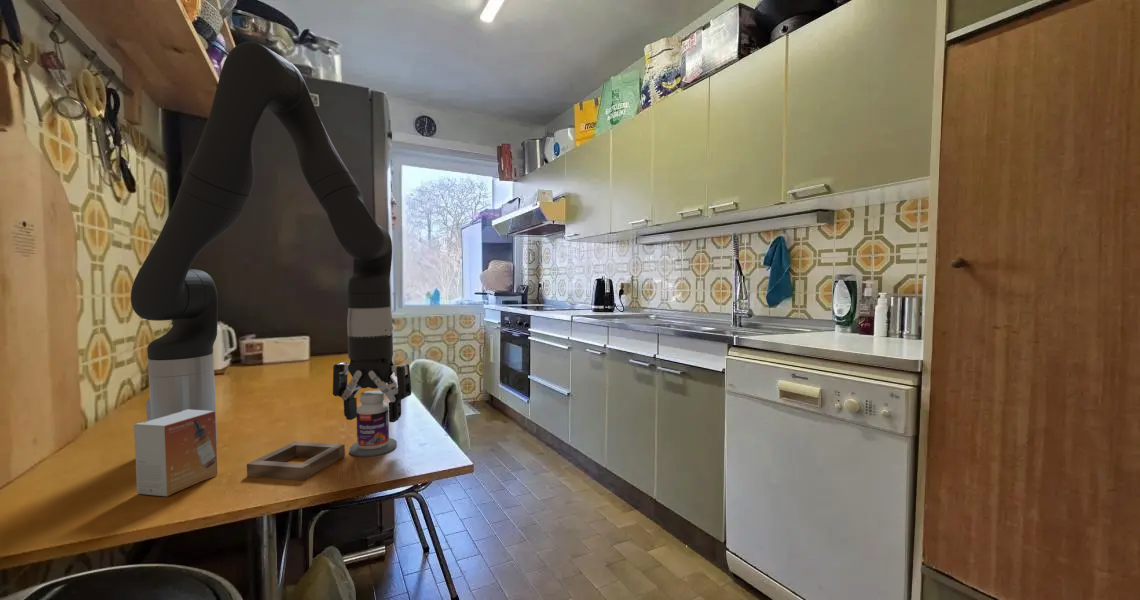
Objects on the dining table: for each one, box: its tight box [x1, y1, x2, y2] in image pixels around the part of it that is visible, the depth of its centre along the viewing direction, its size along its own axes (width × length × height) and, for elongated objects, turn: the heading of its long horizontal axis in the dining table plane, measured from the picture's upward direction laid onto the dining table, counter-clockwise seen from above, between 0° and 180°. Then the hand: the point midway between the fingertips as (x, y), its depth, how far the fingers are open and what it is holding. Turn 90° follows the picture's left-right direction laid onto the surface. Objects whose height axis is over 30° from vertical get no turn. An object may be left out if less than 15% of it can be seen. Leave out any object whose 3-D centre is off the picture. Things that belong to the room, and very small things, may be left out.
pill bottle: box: [356, 390, 390, 450], centre depth 84 cm, size 5×5×10 cm
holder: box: [246, 441, 346, 481], centre depth 77 cm, size 10×10×2 cm
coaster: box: [349, 437, 398, 458], centre depth 85 cm, size 8×8×1 cm
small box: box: [133, 409, 218, 497], centre depth 70 cm, size 8×6×10 cm
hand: (372, 419), depth 84 cm, fingers open, 8 cm apart
